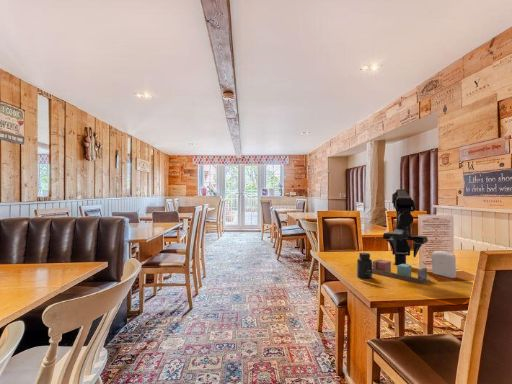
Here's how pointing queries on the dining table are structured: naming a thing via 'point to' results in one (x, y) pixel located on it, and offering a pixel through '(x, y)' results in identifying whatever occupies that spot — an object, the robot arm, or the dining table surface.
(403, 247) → the robot arm
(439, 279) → the dining table surface
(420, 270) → the bookend
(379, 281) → the dining table surface
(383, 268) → the pink block
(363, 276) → the supplement bottle
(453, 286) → the dining table surface
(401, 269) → the teal block
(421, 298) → the dining table surface
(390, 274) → the shelf board
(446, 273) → the photo printer
